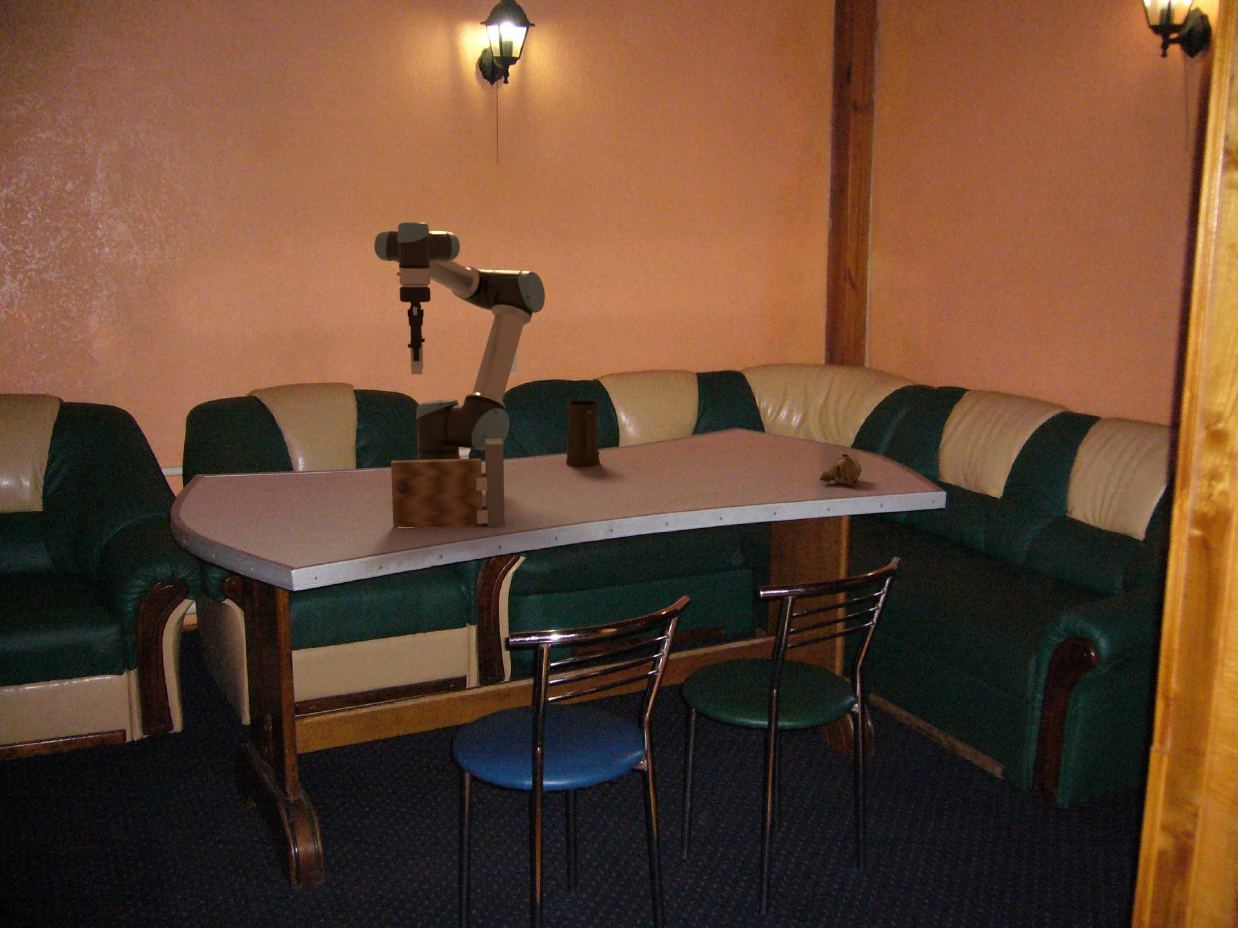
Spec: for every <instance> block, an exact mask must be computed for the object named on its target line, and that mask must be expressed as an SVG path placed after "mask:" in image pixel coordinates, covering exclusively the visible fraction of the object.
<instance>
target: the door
mask: <svg viewBox="0 0 1238 928" xmlns="http://www.w3.org/2000/svg"><path fill="white" fill-rule="evenodd" d="M482 464H483V463H482V458H477V457H476V458H461V459H435V460H416V459H405V460H403V459H402V460H401V459H400V460H396V459H395V460H394V459H393V460H391V462H390V468H391V469H390V471H391V472H390V473H391V474H390V475H391V497H392V525H393V527H392V529H393V528H398V527H438V528H449V527H448V526H466V527H472V526H471V525H484V523H483V524H477V510H482V505H483V491H477V490H476V478H481V477H482V473H483V471H482V469H483V468H482V466H483V465H482Z"/></svg>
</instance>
